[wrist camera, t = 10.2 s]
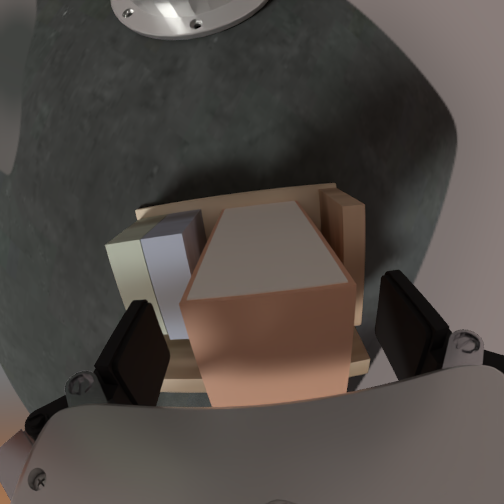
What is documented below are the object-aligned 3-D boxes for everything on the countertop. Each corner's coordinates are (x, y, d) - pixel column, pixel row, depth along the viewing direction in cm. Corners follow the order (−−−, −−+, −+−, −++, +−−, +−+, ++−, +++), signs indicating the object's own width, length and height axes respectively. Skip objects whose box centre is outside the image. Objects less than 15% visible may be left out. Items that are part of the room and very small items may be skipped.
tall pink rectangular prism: (222, 208, 19) (178, 302, 8) (296, 199, 19) (356, 283, 8) (236, 294, 21) (222, 432, 10) (303, 287, 21) (341, 419, 10)
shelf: (137, 208, 20) (79, 247, 12) (334, 182, 19) (382, 208, 11) (168, 321, 23) (139, 390, 16) (337, 304, 22) (367, 373, 15)
